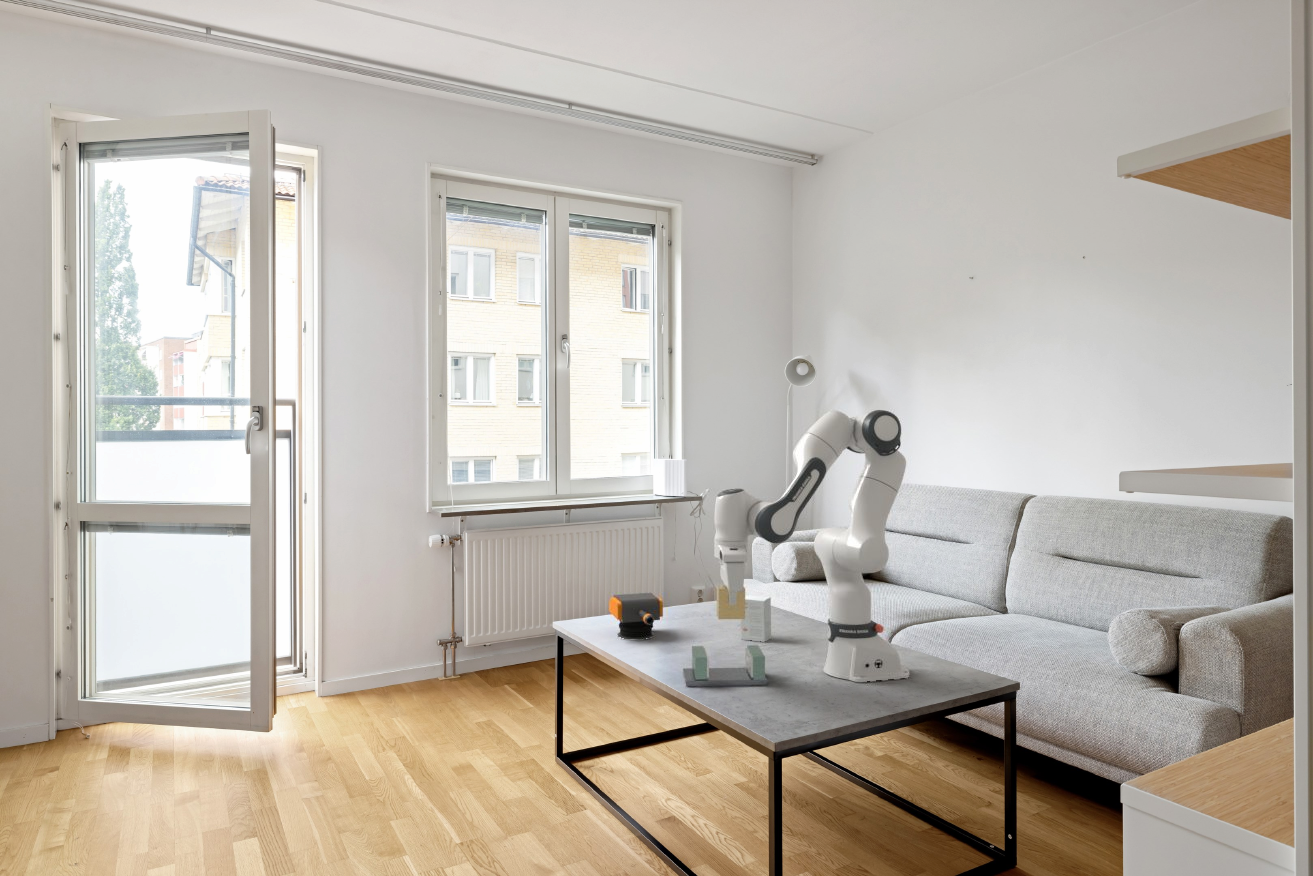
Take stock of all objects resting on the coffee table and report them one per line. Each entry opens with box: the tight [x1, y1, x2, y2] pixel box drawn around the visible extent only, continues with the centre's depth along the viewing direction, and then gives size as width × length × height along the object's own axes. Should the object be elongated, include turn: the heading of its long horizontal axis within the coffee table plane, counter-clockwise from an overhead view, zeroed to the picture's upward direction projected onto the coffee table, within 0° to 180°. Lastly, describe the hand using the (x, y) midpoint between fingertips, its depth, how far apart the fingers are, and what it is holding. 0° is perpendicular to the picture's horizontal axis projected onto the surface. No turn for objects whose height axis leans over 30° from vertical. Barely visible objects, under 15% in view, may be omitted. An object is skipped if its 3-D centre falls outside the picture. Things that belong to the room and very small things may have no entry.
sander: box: [608, 592, 664, 640], centre depth 263 cm, size 15×25×13 cm, turn 16°
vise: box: [682, 644, 768, 687], centre depth 220 cm, size 21×11×8 cm, turn 92°
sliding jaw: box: [691, 645, 710, 680], centre depth 220 cm, size 4×11×6 cm, turn 2°
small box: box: [740, 594, 772, 643], centre depth 262 cm, size 8×6×13 cm
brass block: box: [716, 585, 746, 620], centre depth 220 cm, size 4×7×8 cm, turn 92°
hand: (731, 602), depth 220 cm, fingers closed on brass block, 4 cm apart
